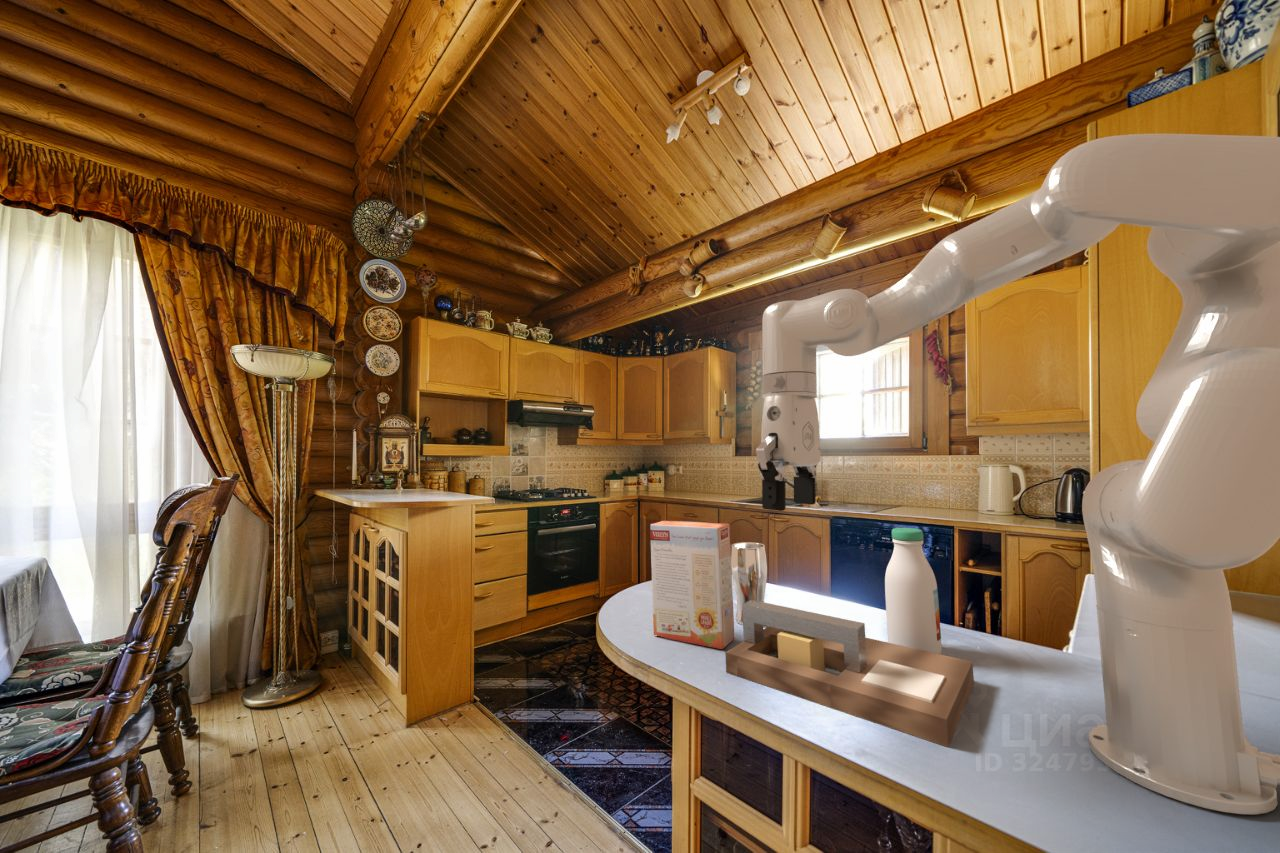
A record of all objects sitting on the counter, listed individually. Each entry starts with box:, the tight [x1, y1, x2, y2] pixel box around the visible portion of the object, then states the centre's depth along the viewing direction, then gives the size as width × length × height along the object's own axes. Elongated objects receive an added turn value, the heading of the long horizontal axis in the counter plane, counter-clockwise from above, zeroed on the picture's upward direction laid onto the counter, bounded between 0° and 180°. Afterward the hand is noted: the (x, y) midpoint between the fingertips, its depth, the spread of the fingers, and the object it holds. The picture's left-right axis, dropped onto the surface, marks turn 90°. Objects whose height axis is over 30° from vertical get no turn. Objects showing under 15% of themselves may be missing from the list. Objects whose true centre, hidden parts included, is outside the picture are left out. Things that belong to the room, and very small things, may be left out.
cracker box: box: [650, 520, 735, 650], centre depth 87 cm, size 14×6×21 cm, turn 58°
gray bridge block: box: [742, 600, 867, 673], centre depth 72 cm, size 18×3×6 cm, turn 48°
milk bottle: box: [884, 527, 942, 655], centre depth 79 cm, size 8×8×20 cm
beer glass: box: [731, 541, 768, 626], centre depth 94 cm, size 7×7×15 cm
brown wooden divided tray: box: [725, 626, 975, 748], centre depth 70 cm, size 29×19×3 cm, turn 48°
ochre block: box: [777, 630, 826, 672], centre depth 72 cm, size 5×5×6 cm
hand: (789, 506), depth 68 cm, fingers open, 9 cm apart
